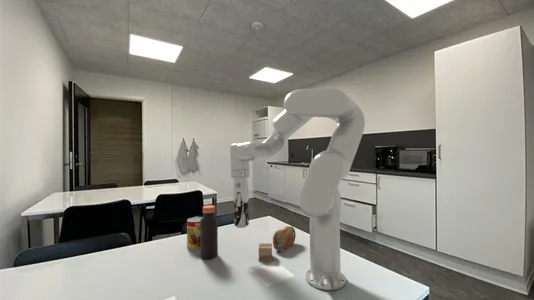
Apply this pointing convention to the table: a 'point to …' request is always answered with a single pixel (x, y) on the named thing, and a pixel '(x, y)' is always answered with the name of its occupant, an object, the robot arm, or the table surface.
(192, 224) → the canned food
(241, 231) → the table surface
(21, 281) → the table surface
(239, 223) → the beverage can
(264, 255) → the tan cube
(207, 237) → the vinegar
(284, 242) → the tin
